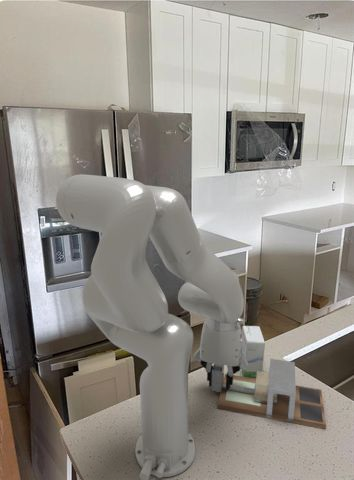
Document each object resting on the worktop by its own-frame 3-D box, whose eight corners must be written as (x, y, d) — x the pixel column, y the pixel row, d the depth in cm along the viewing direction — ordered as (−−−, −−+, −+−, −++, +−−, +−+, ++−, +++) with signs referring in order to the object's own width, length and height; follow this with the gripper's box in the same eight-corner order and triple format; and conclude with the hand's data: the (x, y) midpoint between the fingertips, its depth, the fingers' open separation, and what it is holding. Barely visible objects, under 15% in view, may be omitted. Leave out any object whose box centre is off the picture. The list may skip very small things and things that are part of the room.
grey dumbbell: (276, 405, 88) (278, 383, 86) (210, 393, 92) (211, 372, 90) (277, 388, 93) (279, 368, 92) (214, 378, 98) (215, 358, 96)
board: (325, 429, 83) (326, 424, 82) (217, 408, 89) (217, 404, 89) (320, 393, 94) (321, 389, 93) (224, 377, 100) (225, 373, 100)
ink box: (239, 361, 107) (240, 324, 104) (257, 361, 107) (259, 325, 104) (243, 380, 99) (245, 341, 96) (263, 380, 99) (265, 341, 95)
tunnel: (293, 422, 85) (295, 393, 82) (266, 417, 86) (268, 389, 84) (292, 388, 96) (294, 362, 93) (268, 384, 97) (270, 358, 95)
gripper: (258, 317, 90) (254, 381, 95) (192, 309, 95) (191, 370, 100) (255, 333, 83) (251, 400, 88) (184, 323, 88) (184, 388, 93)
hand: (219, 383), depth 94 cm, fingers closed on grey dumbbell, 3 cm apart
